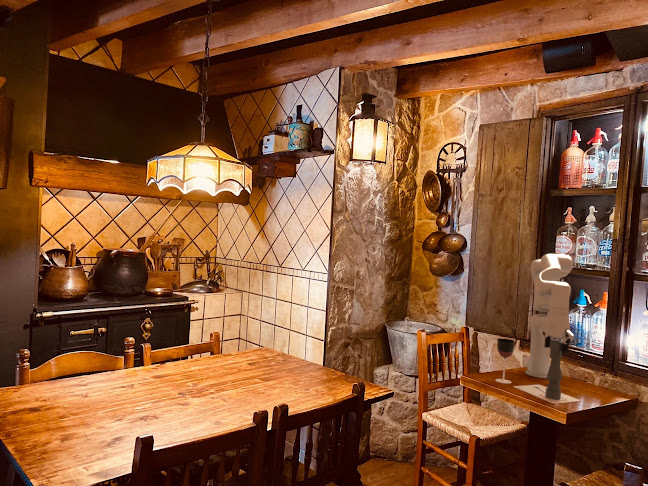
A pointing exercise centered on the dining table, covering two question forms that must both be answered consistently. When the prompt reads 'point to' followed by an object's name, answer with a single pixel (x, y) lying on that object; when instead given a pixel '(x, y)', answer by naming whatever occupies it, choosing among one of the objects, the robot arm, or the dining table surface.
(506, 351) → the wineglass
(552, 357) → the candle holder
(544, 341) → the robot arm
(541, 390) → the paper sheet
